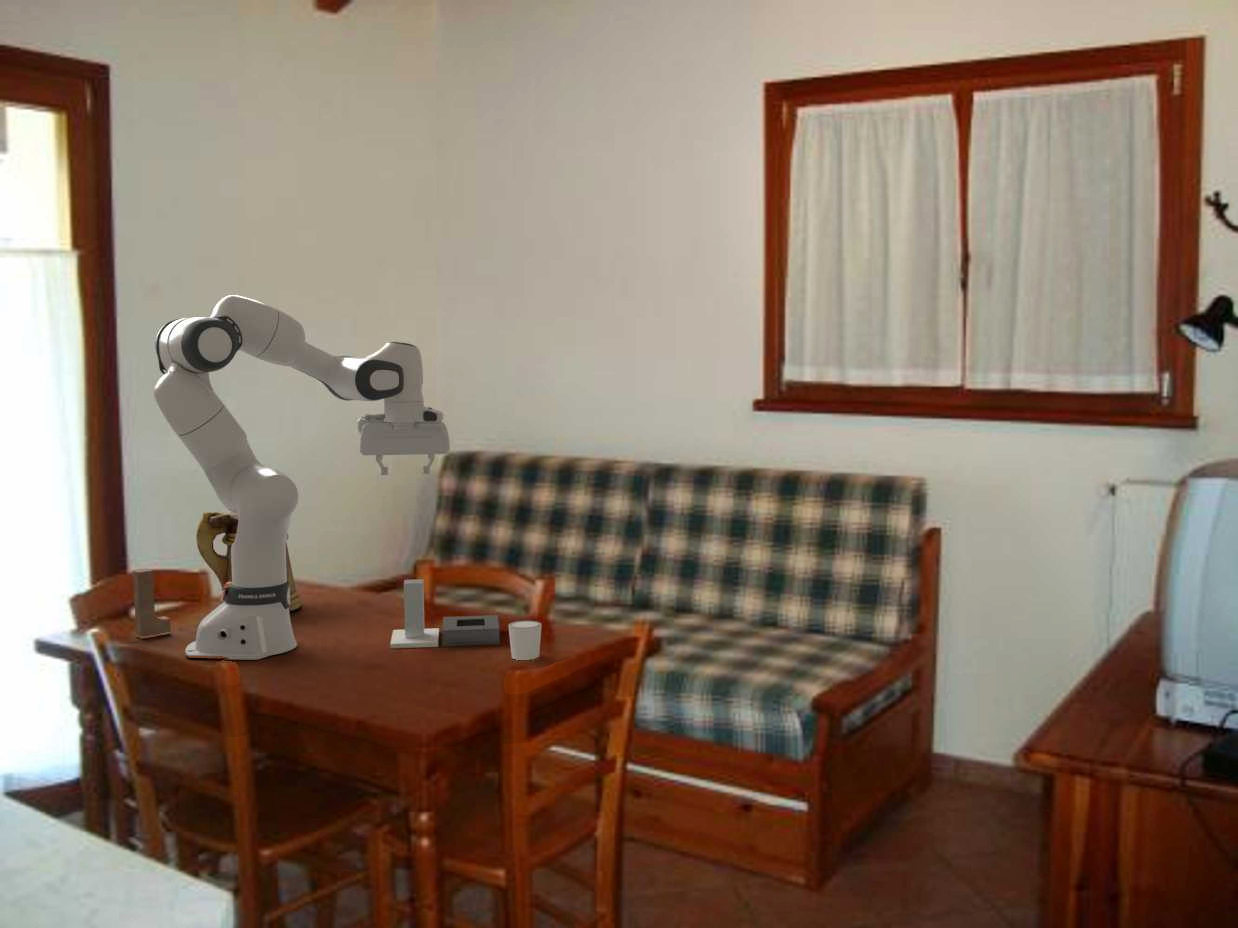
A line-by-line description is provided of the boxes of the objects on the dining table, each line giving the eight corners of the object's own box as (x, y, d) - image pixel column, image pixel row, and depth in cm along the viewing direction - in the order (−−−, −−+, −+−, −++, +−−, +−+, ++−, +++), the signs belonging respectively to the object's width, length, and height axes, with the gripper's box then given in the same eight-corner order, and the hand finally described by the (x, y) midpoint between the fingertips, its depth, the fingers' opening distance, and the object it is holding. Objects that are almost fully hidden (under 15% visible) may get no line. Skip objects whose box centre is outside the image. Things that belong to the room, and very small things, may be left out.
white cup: (548, 655, 254) (548, 622, 253) (528, 663, 248) (528, 629, 248) (522, 651, 258) (521, 618, 257) (502, 658, 252) (501, 625, 251)
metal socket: (442, 646, 262) (442, 630, 261) (443, 632, 274) (443, 616, 273) (499, 644, 263) (499, 628, 263) (497, 630, 275) (497, 615, 275)
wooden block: (141, 639, 269) (137, 572, 267) (135, 637, 271) (132, 570, 269) (171, 634, 273) (167, 568, 271) (165, 631, 275) (162, 566, 274)
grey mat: (390, 648, 260) (390, 643, 260) (393, 634, 272) (393, 629, 272) (438, 646, 262) (438, 641, 262) (439, 632, 273) (439, 628, 273)
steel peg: (405, 638, 265) (403, 583, 263) (406, 633, 269) (404, 579, 267) (424, 637, 265) (422, 583, 264) (424, 633, 269) (423, 579, 268)
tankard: (311, 612, 293) (307, 508, 290) (210, 625, 281) (205, 517, 278) (288, 598, 308) (284, 499, 305) (191, 610, 296) (186, 507, 293)
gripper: (356, 415, 274) (358, 477, 276) (448, 414, 277) (450, 475, 279) (358, 413, 281) (360, 473, 282) (449, 412, 283) (450, 471, 285)
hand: (405, 474), depth 280 cm, fingers open, 8 cm apart
